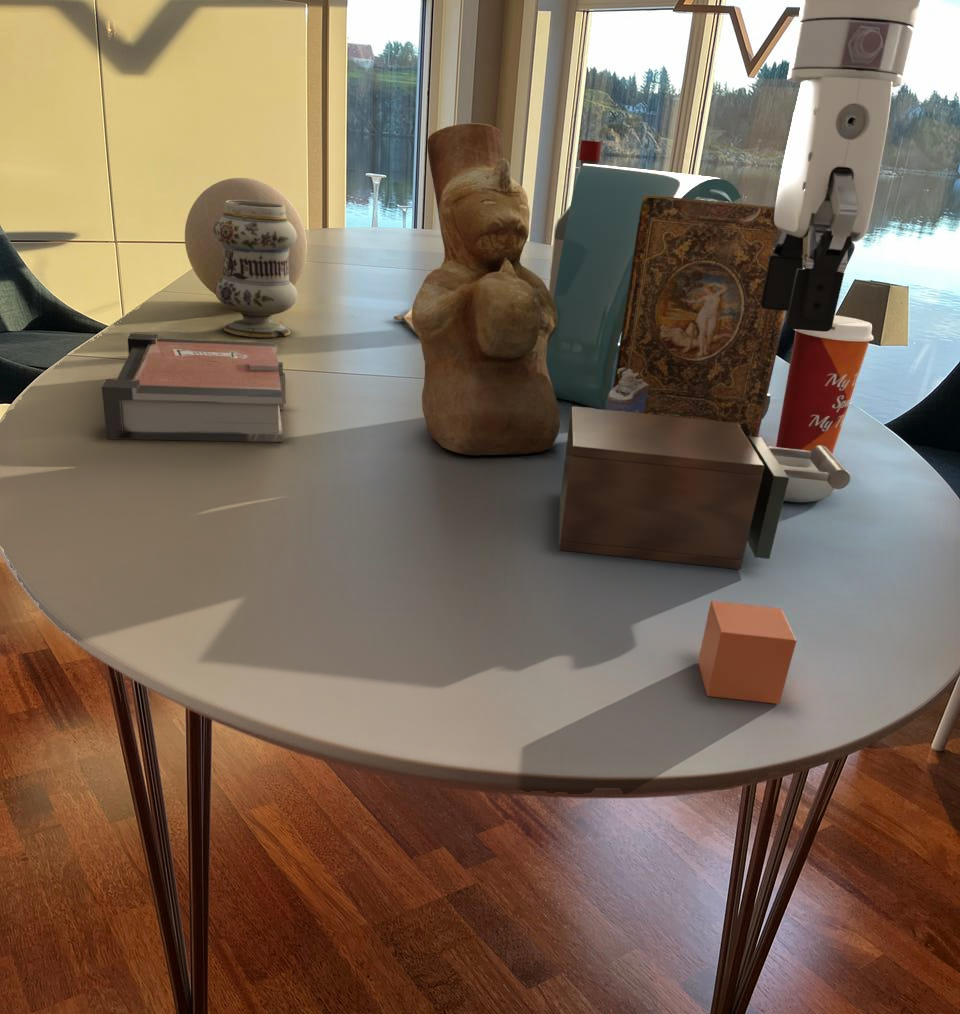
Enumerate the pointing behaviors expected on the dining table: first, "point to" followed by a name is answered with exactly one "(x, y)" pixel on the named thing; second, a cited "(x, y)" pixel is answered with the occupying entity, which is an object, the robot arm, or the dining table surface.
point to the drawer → (777, 484)
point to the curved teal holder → (605, 272)
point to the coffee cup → (822, 383)
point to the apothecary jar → (255, 266)
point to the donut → (803, 482)
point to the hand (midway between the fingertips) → (792, 318)
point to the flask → (628, 393)
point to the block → (746, 652)
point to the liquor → (587, 155)
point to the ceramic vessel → (484, 307)
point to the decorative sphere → (210, 207)
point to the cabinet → (658, 488)
